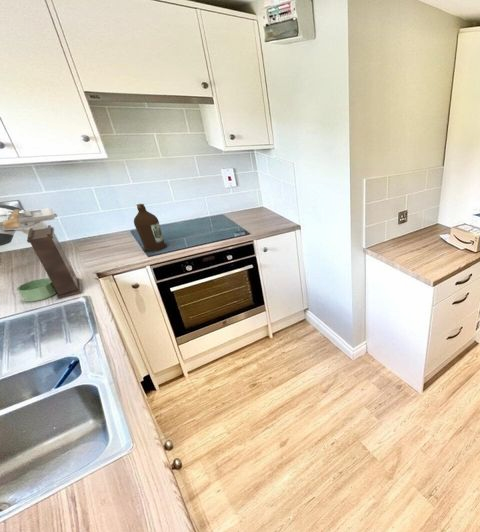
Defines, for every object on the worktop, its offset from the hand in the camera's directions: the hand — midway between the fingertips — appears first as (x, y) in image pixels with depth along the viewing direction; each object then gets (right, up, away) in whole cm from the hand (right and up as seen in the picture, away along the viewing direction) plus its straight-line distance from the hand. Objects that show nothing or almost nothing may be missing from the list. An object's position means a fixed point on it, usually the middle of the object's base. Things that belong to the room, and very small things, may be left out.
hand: (15, 212), depth 133 cm
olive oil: (+23, -12, +46) cm, 53 cm away
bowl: (+9, -35, +2) cm, 36 cm away
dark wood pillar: (+16, -32, +7) cm, 37 cm away
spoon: (+5, -4, -4) cm, 7 cm away
